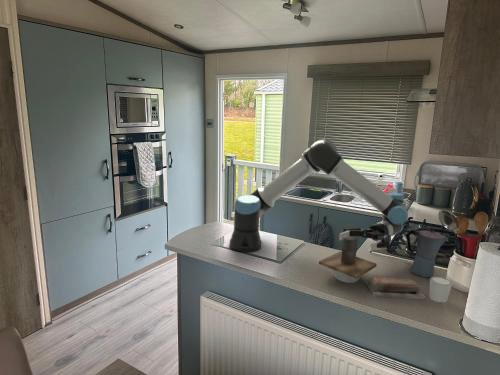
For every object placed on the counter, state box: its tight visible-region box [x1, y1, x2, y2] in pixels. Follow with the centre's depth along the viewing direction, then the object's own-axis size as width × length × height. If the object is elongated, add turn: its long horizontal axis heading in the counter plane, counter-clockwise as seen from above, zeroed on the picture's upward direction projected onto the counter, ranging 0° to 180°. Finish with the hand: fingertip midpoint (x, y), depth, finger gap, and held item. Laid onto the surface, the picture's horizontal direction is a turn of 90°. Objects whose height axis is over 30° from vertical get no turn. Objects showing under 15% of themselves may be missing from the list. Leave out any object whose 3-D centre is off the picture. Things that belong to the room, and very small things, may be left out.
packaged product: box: [365, 276, 426, 300], centre depth 126 cm, size 18×5×10 cm
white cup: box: [428, 276, 453, 303], centre depth 122 cm, size 7×7×7 cm
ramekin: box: [333, 270, 361, 284], centre depth 135 cm, size 11×11×5 cm
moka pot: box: [405, 227, 449, 279], centre depth 141 cm, size 10×15×20 cm, turn 78°
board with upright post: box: [318, 236, 378, 279], centre depth 133 cm, size 16×16×11 cm
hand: (355, 242), depth 135 cm, fingers open, 13 cm apart
